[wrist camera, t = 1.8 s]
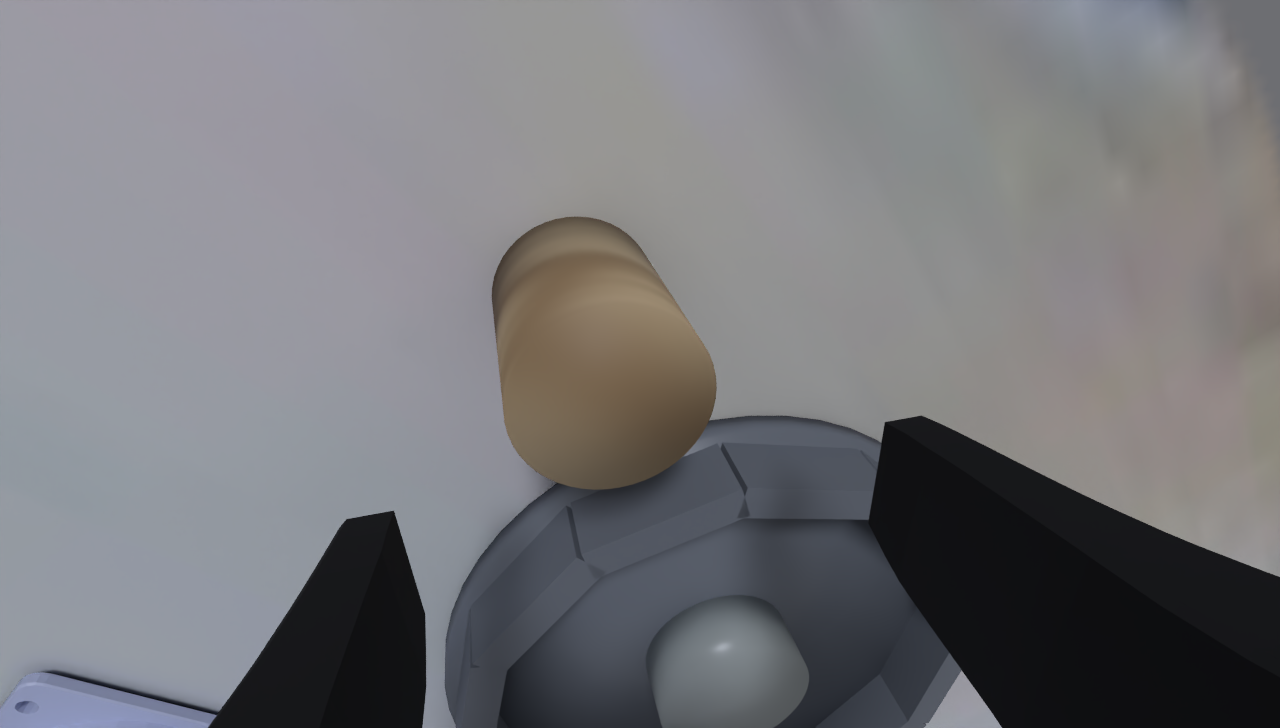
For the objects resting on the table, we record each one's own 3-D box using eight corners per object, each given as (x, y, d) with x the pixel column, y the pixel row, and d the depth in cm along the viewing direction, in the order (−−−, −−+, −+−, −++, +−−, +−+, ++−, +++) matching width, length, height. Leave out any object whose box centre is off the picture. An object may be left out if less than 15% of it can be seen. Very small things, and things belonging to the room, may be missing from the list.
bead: (584, 392, 18) (622, 518, 14) (458, 311, 16) (458, 430, 12) (684, 280, 17) (757, 380, 13) (562, 181, 16) (602, 261, 11)
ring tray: (707, 817, 31) (727, 888, 28) (331, 714, 22) (316, 803, 20) (1024, 556, 26) (1080, 614, 24) (712, 302, 18) (750, 353, 15)
